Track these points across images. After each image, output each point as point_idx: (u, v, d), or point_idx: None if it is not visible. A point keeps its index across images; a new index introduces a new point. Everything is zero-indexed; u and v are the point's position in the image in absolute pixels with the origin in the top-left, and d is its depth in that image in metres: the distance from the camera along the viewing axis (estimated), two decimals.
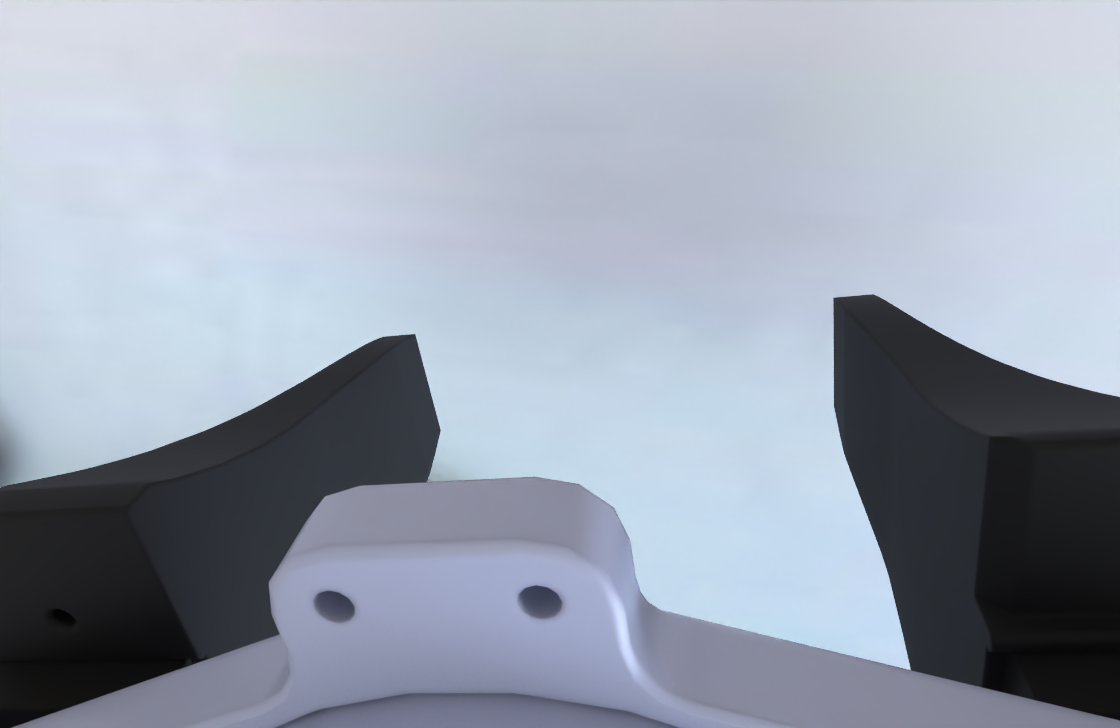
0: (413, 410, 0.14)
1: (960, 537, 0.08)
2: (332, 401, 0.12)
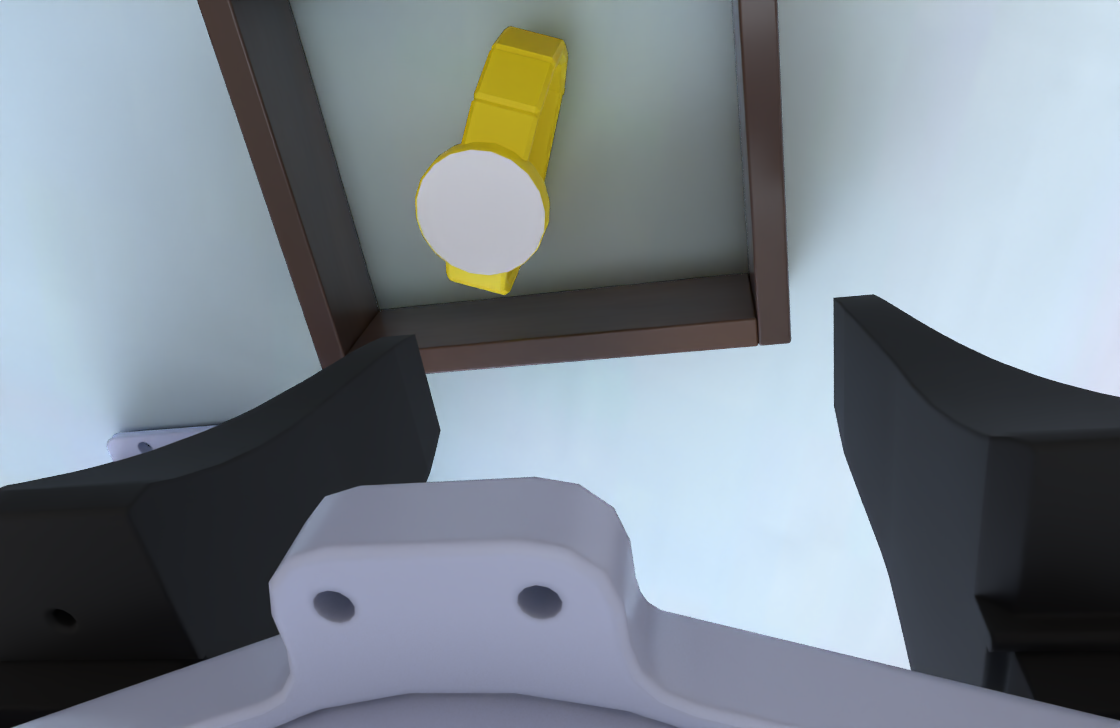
0: (413, 410, 0.14)
1: (960, 537, 0.08)
2: (332, 401, 0.12)
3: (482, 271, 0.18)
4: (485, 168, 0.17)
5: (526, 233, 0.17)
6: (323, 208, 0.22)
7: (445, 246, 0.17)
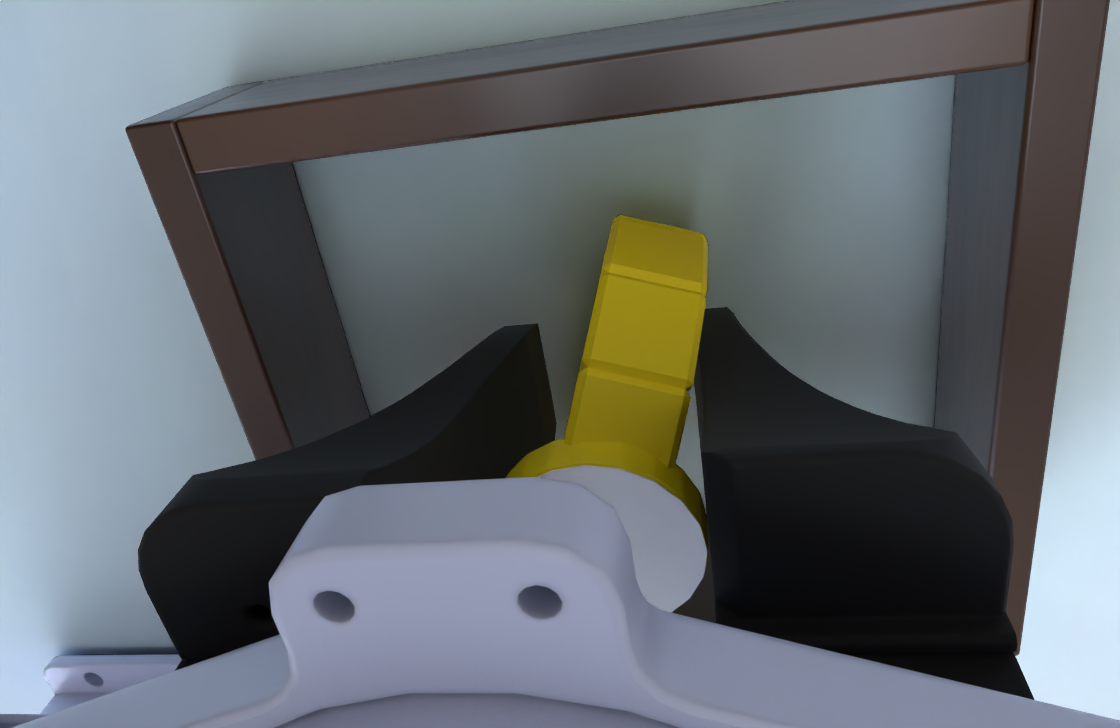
0: (539, 401, 0.14)
1: None
2: (483, 390, 0.11)
3: None
4: (609, 492, 0.10)
5: (672, 573, 0.11)
6: (333, 431, 0.15)
7: None
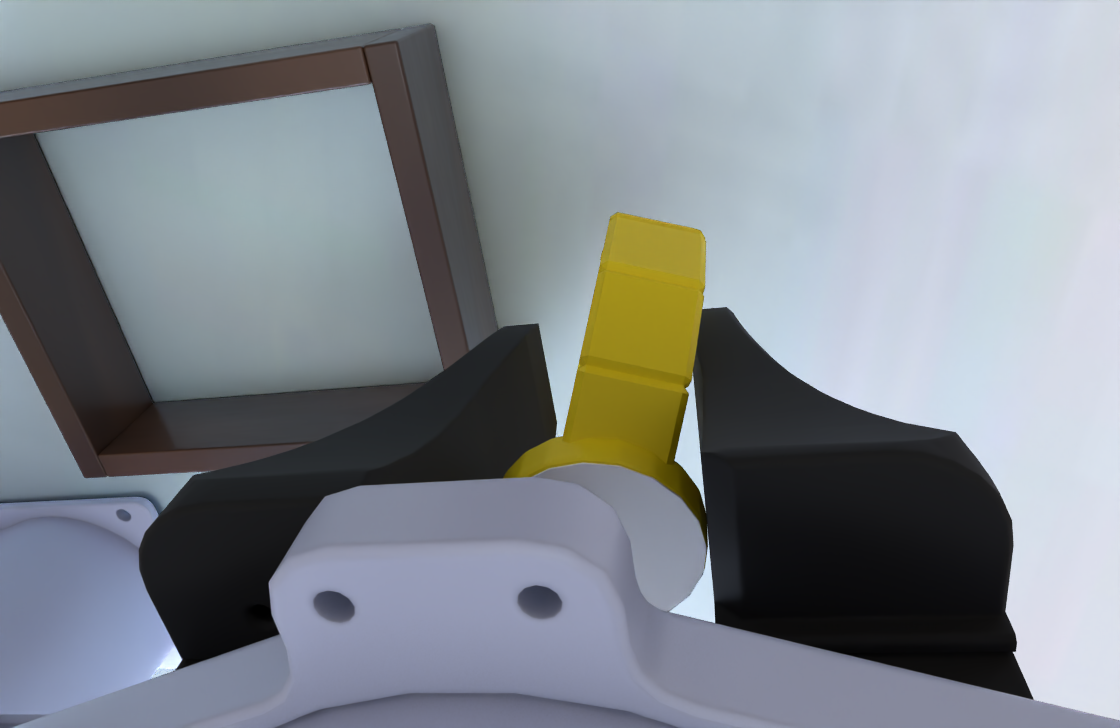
0: (539, 401, 0.14)
1: None
2: (483, 390, 0.11)
3: None
4: (608, 489, 0.10)
5: (672, 571, 0.11)
6: (72, 319, 0.24)
7: None
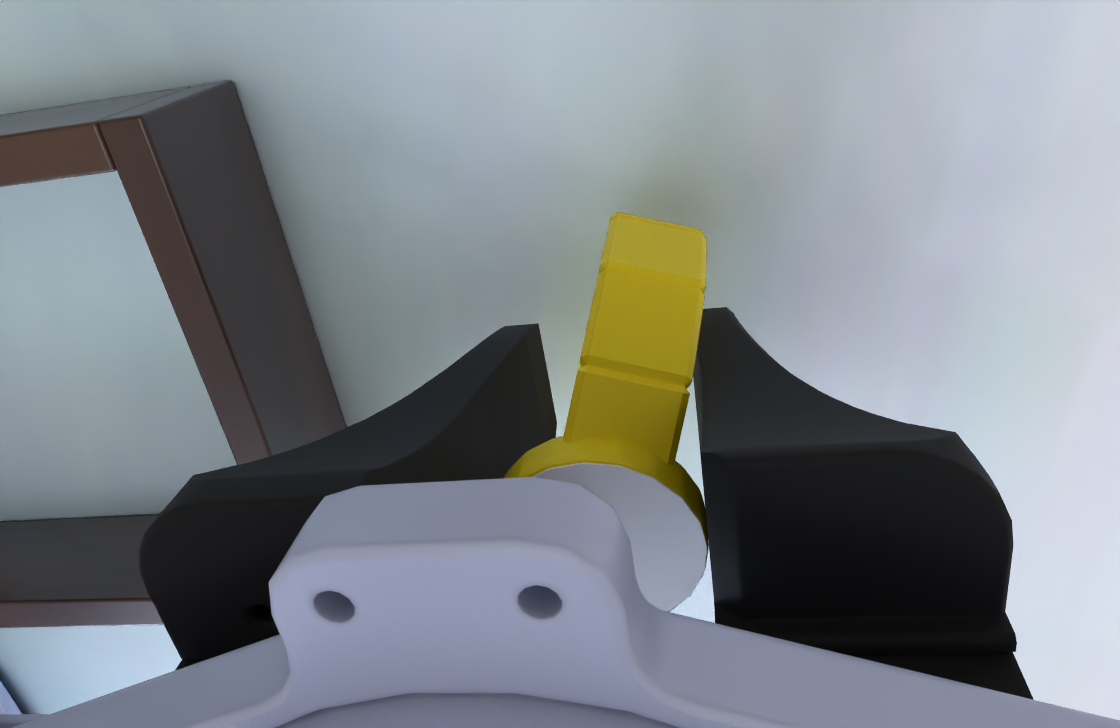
0: (539, 401, 0.14)
1: None
2: (483, 390, 0.11)
3: None
4: (609, 489, 0.10)
5: (673, 571, 0.11)
6: None
7: None
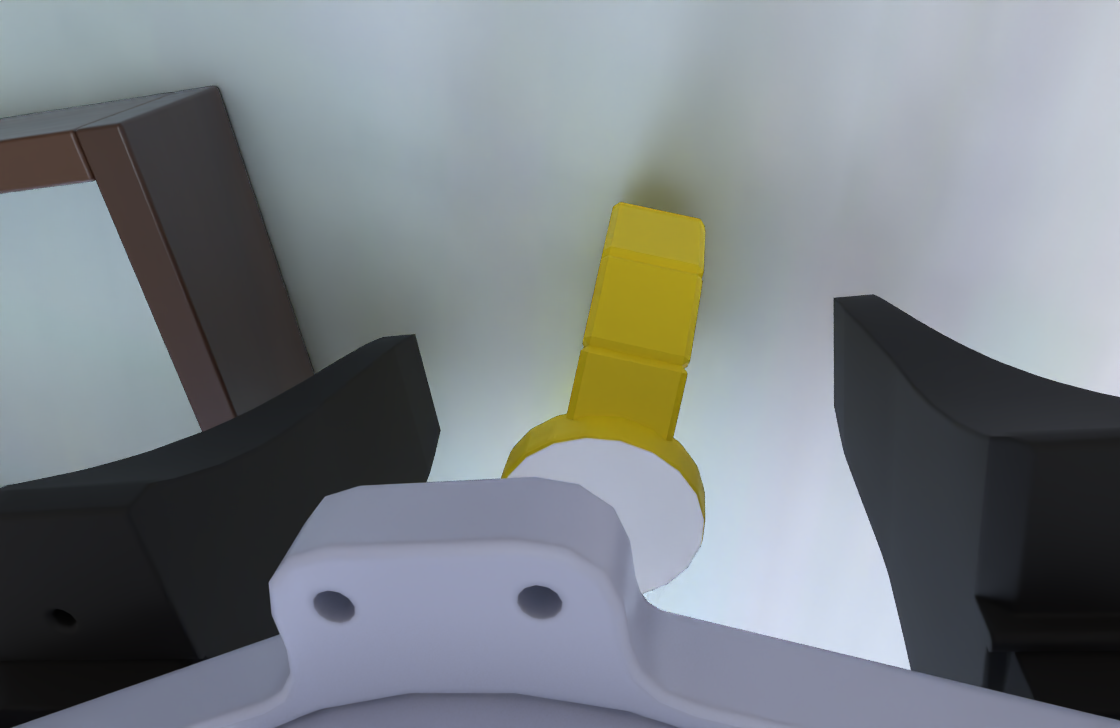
0: (413, 410, 0.14)
1: (960, 537, 0.08)
2: (331, 401, 0.12)
3: None
4: (610, 463, 0.10)
5: (671, 544, 0.11)
6: None
7: None
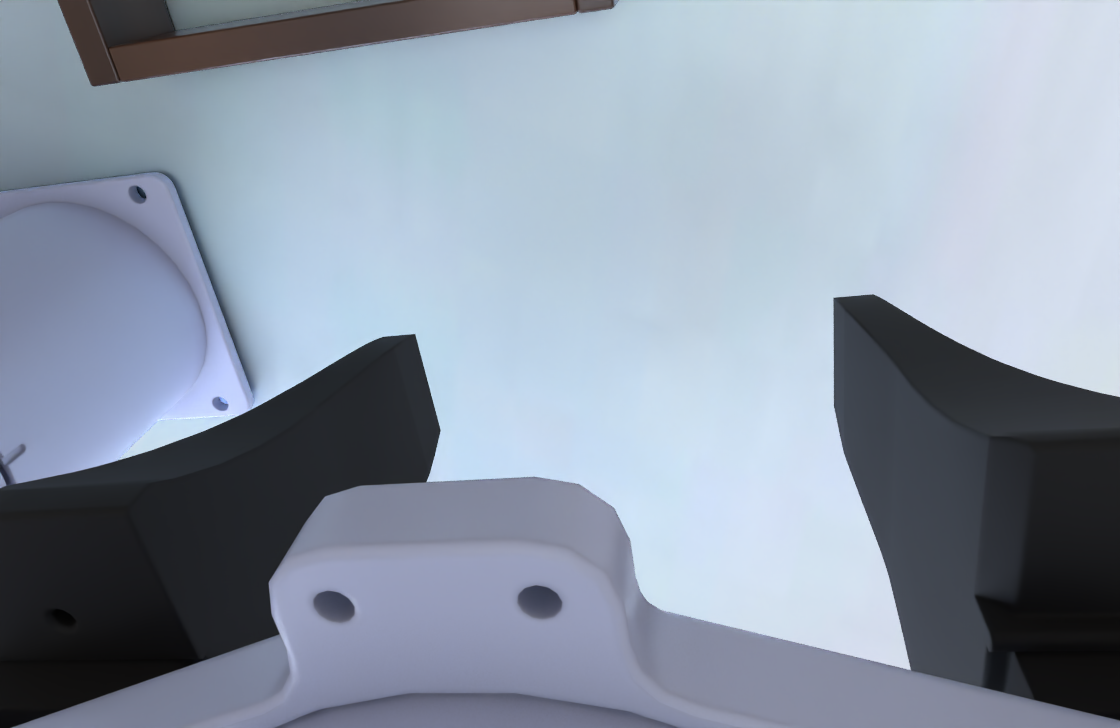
0: (413, 410, 0.14)
1: (960, 537, 0.08)
2: (332, 401, 0.12)
3: None
4: None
5: None
6: None
7: None
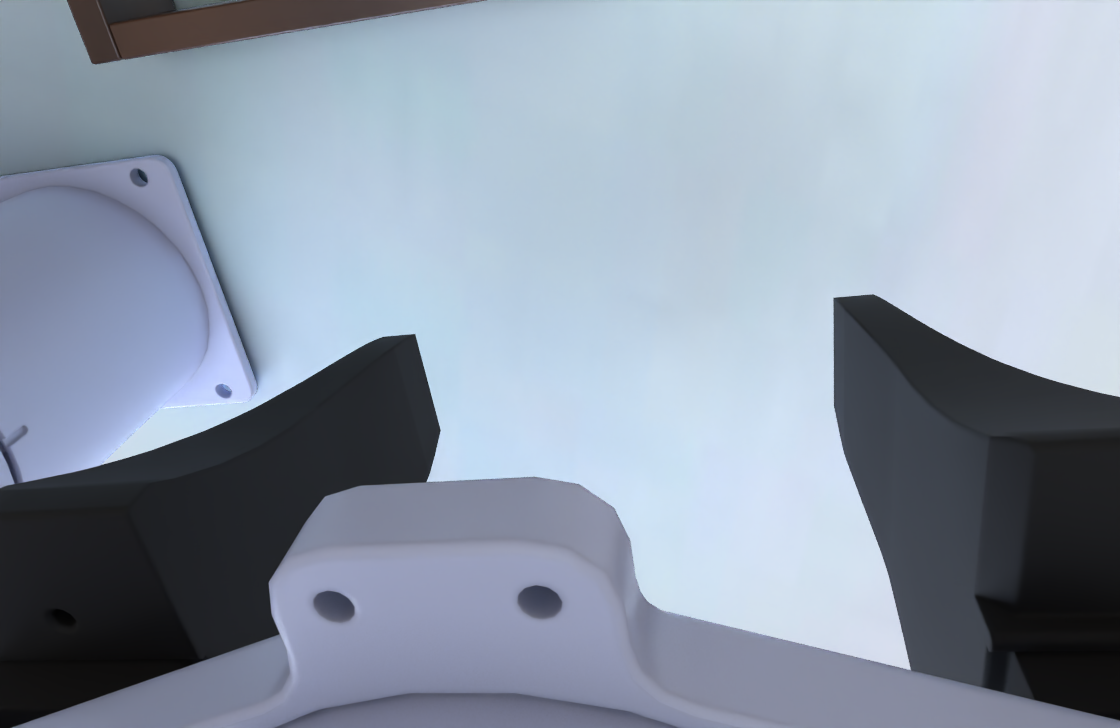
0: (413, 410, 0.14)
1: (960, 537, 0.08)
2: (332, 401, 0.12)
3: None
4: None
5: None
6: None
7: None
